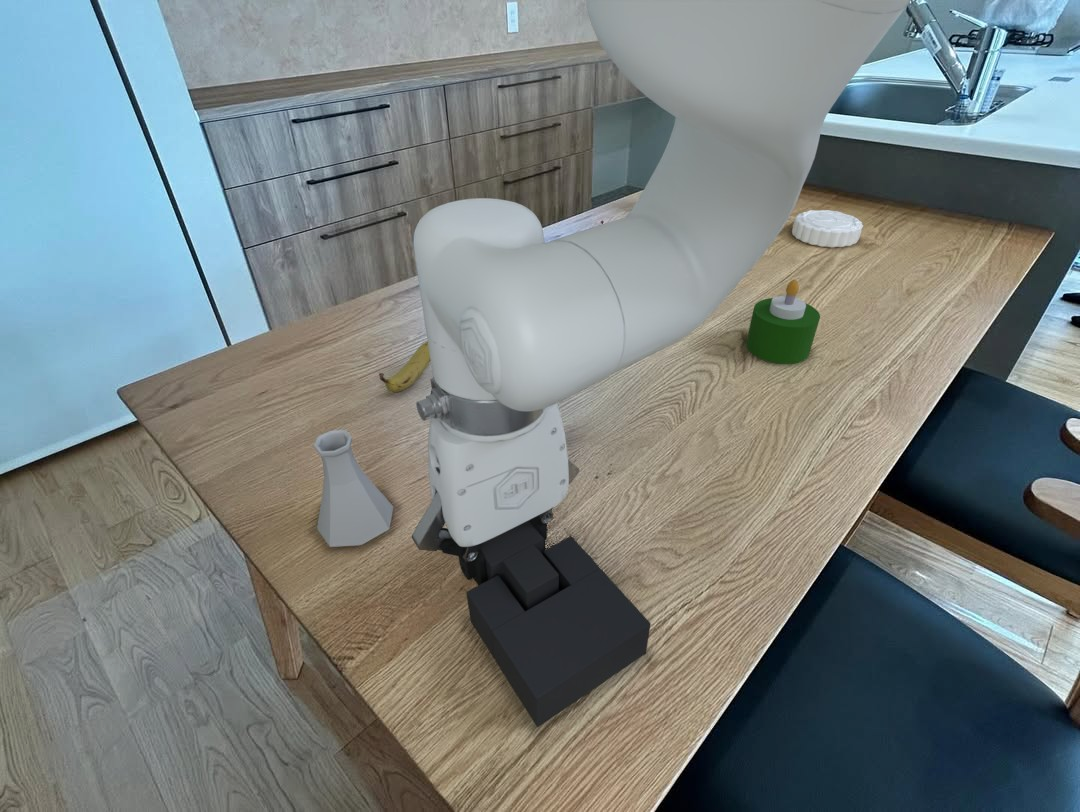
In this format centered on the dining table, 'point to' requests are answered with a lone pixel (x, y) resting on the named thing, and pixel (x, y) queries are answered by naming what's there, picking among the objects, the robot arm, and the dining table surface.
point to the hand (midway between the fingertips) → (505, 560)
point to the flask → (348, 495)
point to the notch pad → (560, 633)
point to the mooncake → (827, 228)
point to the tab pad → (521, 565)
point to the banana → (409, 370)
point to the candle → (782, 328)
